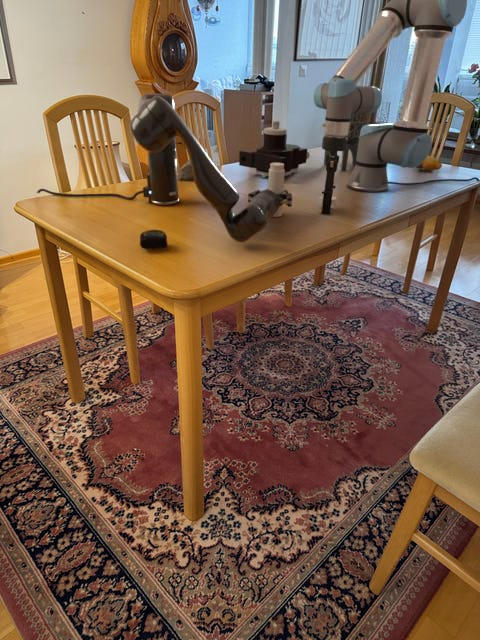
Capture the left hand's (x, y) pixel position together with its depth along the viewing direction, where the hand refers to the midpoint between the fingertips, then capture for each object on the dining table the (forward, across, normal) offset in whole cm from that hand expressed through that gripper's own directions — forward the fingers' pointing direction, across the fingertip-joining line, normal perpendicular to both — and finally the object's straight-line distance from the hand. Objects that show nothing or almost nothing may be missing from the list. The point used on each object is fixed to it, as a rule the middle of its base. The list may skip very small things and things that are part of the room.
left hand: (277, 192), depth 144 cm
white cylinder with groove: (+7, -15, +2) cm, 17 cm away
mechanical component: (+56, +12, +6) cm, 58 cm away
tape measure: (-42, +22, +6) cm, 48 cm away
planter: (+80, -12, +6) cm, 81 cm away
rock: (+33, +42, +6) cm, 54 cm away
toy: (+90, -49, +6) cm, 102 cm away
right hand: (+7, -15, +6) cm, 18 cm away
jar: (-3, 0, +6) cm, 7 cm away
